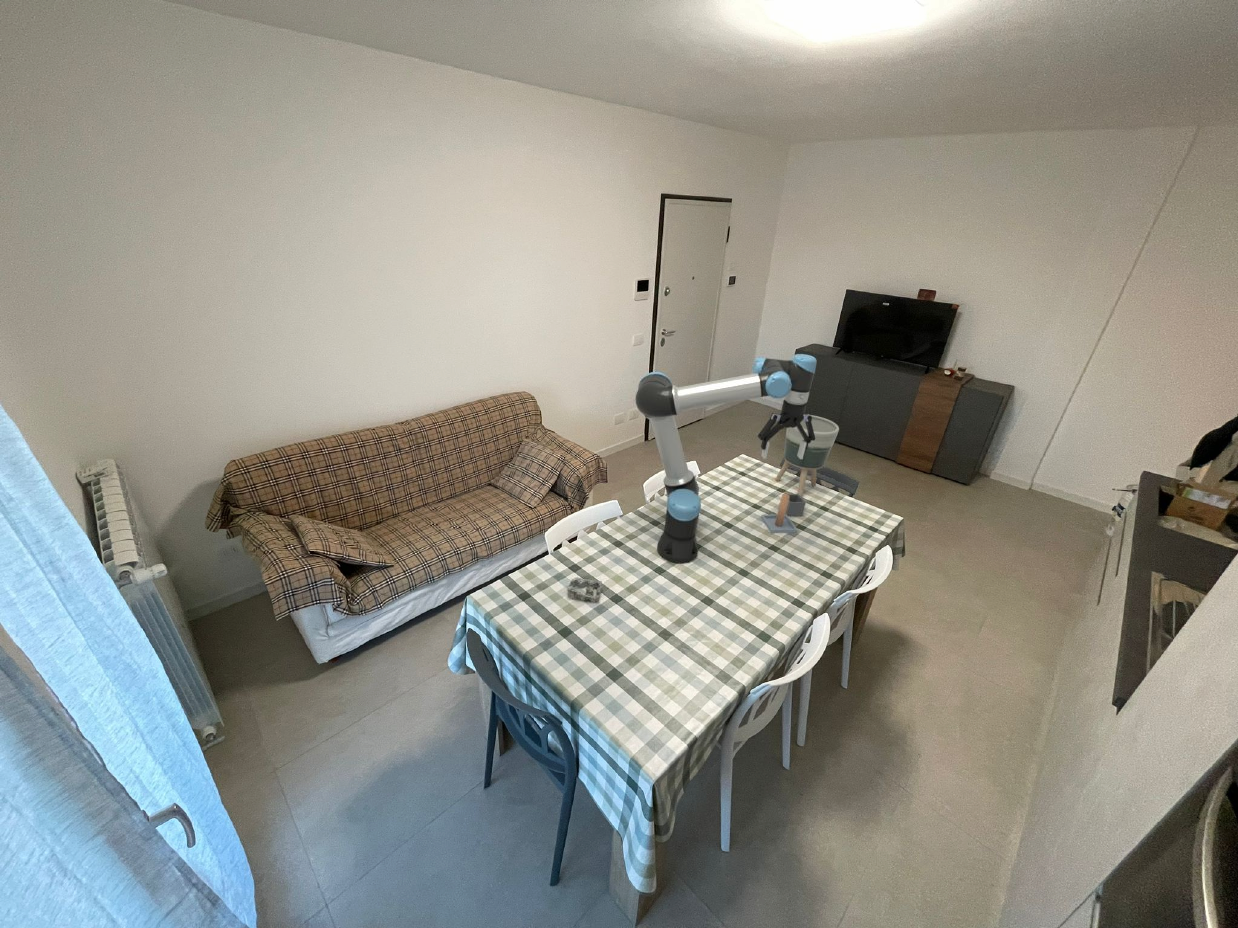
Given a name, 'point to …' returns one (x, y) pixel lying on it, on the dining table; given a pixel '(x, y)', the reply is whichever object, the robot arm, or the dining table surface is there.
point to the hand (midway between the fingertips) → (781, 457)
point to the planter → (809, 449)
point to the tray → (786, 527)
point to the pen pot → (795, 506)
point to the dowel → (782, 510)
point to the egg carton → (589, 590)
